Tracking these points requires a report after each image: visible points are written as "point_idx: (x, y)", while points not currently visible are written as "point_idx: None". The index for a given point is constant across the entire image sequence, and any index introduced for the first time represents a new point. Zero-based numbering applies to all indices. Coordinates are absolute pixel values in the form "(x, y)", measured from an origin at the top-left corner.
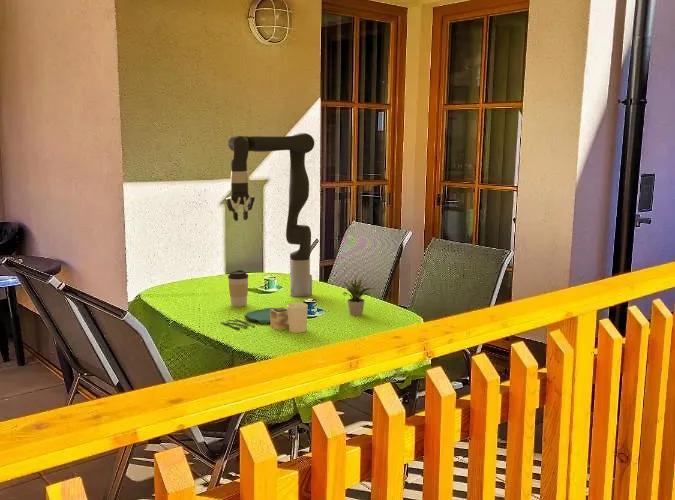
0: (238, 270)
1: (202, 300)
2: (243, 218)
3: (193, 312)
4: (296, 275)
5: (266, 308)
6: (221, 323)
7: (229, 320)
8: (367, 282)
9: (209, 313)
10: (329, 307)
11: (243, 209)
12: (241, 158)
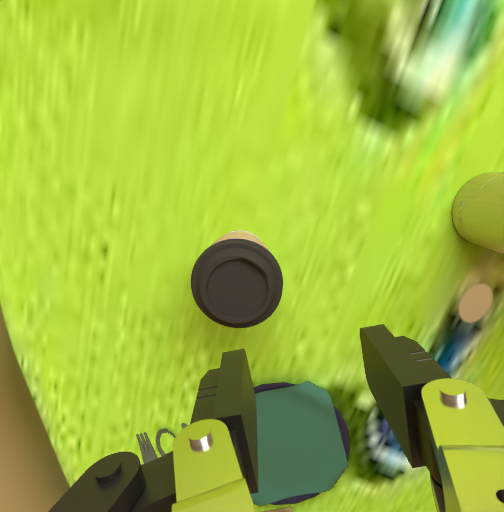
0: (247, 259)
1: (131, 137)
2: (363, 336)
3: (79, 295)
4: None
5: (292, 388)
6: (139, 443)
7: (165, 429)
8: None
9: (126, 326)
10: None
11: (426, 419)
12: None
